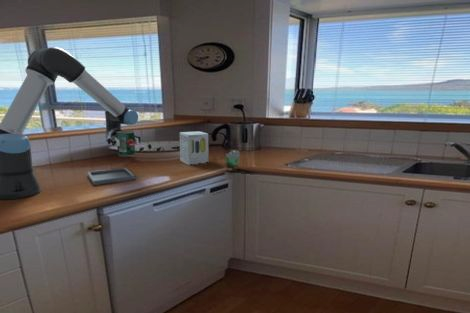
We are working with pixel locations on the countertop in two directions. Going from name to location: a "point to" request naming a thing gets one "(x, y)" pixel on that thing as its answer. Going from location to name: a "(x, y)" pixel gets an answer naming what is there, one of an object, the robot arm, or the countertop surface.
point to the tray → (110, 176)
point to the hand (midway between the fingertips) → (128, 142)
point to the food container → (232, 160)
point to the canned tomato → (126, 143)
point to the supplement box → (193, 147)
